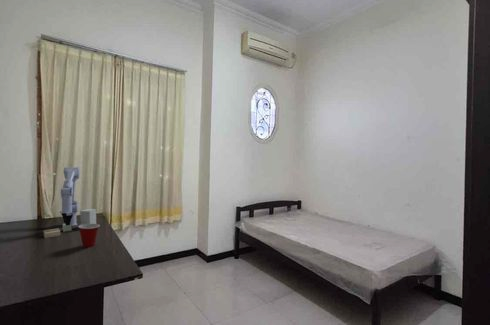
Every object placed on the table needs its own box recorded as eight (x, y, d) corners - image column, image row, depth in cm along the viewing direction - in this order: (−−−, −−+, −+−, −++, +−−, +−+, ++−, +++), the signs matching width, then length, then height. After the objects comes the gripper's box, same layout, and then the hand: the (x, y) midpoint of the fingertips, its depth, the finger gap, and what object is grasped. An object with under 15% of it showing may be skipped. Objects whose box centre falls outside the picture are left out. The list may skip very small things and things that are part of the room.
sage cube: (62, 230, 176) (62, 224, 176) (70, 229, 180) (70, 222, 179) (63, 231, 173) (63, 225, 173) (71, 230, 176) (71, 224, 176)
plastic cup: (102, 245, 148) (102, 225, 147) (80, 250, 140) (80, 228, 140) (96, 241, 155) (96, 221, 155) (76, 245, 147) (76, 225, 147)
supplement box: (96, 225, 188) (96, 209, 188) (89, 228, 181) (89, 211, 181) (87, 225, 189) (87, 208, 189) (80, 228, 182) (79, 210, 182)
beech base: (43, 235, 165) (43, 230, 165) (58, 232, 171) (58, 228, 171) (44, 238, 159) (44, 233, 159) (60, 235, 165) (60, 230, 165)
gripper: (58, 203, 179) (58, 222, 179) (61, 206, 168) (61, 227, 168) (70, 202, 183) (70, 221, 184) (74, 205, 173) (74, 225, 173)
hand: (66, 224), depth 176 cm, fingers open, 7 cm apart
